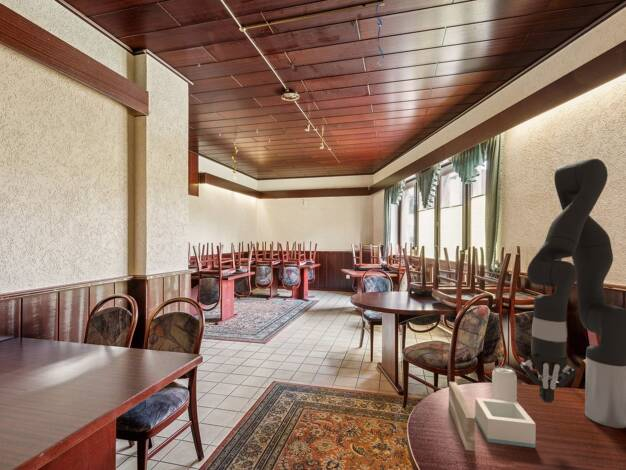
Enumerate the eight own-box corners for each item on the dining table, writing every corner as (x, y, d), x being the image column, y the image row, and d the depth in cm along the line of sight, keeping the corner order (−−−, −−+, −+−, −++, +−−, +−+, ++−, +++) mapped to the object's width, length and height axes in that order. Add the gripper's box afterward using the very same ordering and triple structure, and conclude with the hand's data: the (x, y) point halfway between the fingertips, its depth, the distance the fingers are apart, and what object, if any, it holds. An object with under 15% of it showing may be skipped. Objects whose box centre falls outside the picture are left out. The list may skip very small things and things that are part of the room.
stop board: (455, 408, 100) (455, 382, 100) (474, 451, 81) (475, 418, 81) (448, 407, 101) (448, 381, 101) (465, 449, 81) (466, 417, 81)
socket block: (516, 422, 93) (517, 401, 93) (535, 447, 82) (535, 423, 82) (475, 418, 95) (475, 397, 95) (487, 441, 84) (488, 418, 84)
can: (520, 415, 97) (521, 374, 97) (498, 414, 97) (499, 373, 97) (508, 403, 104) (509, 365, 104) (487, 403, 104) (488, 365, 104)
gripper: (569, 334, 89) (566, 397, 89) (515, 329, 92) (513, 391, 92) (586, 343, 82) (583, 412, 82) (527, 337, 84) (524, 405, 84)
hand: (546, 401), depth 87 cm, fingers closed
